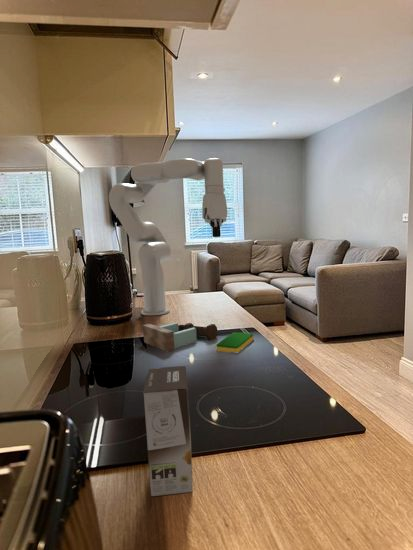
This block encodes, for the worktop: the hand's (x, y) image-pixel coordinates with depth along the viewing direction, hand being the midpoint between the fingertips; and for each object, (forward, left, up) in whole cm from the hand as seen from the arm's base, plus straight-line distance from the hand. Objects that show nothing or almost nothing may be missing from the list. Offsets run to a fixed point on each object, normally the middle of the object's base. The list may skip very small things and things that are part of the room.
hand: (216, 236), depth 153 cm
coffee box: (+68, -73, -33) cm, 105 cm away
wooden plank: (+13, -39, -33) cm, 53 cm away
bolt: (+14, -24, -34) cm, 44 cm away
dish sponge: (+31, -22, -34) cm, 51 cm away
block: (+13, -33, -33) cm, 48 cm away
